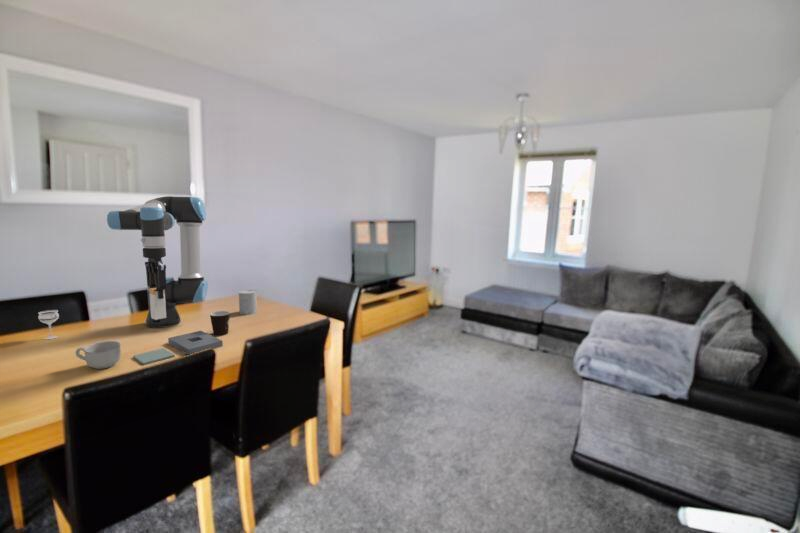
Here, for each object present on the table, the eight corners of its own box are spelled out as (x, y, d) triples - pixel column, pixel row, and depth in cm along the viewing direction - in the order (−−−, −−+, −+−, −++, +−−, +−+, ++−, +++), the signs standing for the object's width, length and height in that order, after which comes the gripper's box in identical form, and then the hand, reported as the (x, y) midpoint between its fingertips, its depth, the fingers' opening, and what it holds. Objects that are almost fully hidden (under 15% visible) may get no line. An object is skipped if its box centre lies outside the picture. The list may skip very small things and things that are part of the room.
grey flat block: (168, 343, 167) (168, 338, 166) (200, 335, 178) (200, 330, 177) (189, 355, 155) (188, 349, 154) (222, 346, 166) (222, 340, 165)
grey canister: (260, 312, 219) (260, 291, 217) (246, 315, 211) (245, 294, 209) (250, 309, 224) (249, 289, 222) (235, 312, 216) (235, 291, 214)
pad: (133, 357, 150) (132, 355, 150) (163, 349, 159) (163, 348, 159) (143, 365, 144) (143, 363, 144) (174, 356, 153) (174, 354, 152)
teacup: (128, 360, 148) (127, 340, 147) (108, 372, 137) (106, 351, 136) (92, 359, 147) (90, 340, 146) (68, 371, 137) (66, 350, 135)
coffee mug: (222, 337, 176) (222, 316, 175) (206, 335, 178) (205, 315, 177) (238, 329, 188) (237, 310, 186) (222, 328, 189) (222, 308, 188)
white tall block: (151, 317, 151) (149, 288, 149) (162, 315, 154) (160, 287, 152) (155, 319, 148) (153, 290, 147) (166, 317, 152) (164, 288, 150)
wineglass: (65, 336, 171) (62, 310, 169) (47, 341, 164) (44, 314, 163) (54, 334, 173) (51, 309, 171) (36, 339, 166) (33, 313, 164)
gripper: (134, 245, 149) (138, 303, 152) (152, 249, 139) (156, 311, 142) (155, 244, 155) (159, 300, 158) (174, 248, 145) (177, 307, 148)
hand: (157, 305), depth 150 cm, fingers closed on white tall block, 4 cm apart
